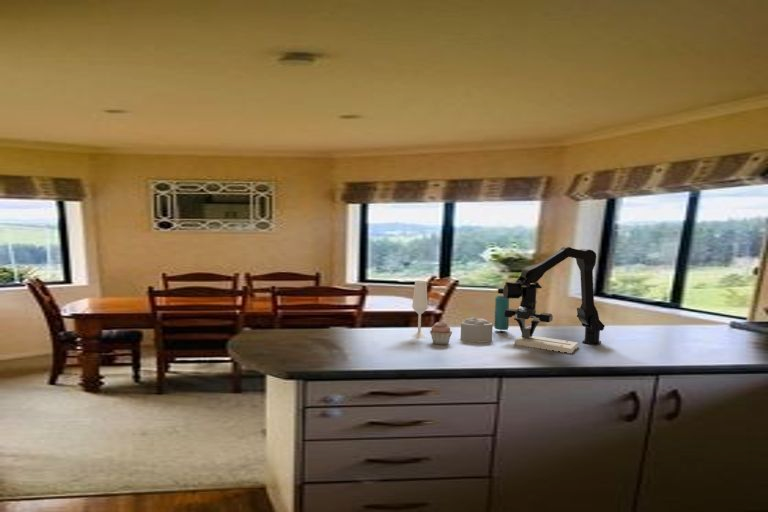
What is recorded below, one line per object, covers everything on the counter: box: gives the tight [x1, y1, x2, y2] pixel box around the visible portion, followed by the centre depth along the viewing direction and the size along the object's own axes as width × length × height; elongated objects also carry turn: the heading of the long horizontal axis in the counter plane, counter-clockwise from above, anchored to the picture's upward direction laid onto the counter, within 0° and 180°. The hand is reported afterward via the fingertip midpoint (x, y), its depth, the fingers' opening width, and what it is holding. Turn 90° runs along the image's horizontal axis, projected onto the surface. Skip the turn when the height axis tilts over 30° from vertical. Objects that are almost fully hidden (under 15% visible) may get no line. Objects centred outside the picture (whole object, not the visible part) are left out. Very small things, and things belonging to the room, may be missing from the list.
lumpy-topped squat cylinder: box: [459, 317, 494, 343], centre depth 202 cm, size 10×13×9 cm
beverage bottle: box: [493, 287, 510, 331], centre depth 216 cm, size 6×7×20 cm
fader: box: [521, 325, 534, 338], centre depth 197 cm, size 5×3×4 cm, turn 146°
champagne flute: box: [411, 280, 429, 339], centre depth 204 cm, size 7×7×24 cm
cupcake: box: [429, 319, 453, 346], centre depth 193 cm, size 9×9×10 cm
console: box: [514, 335, 579, 354], centre depth 193 cm, size 12×22×2 cm, turn 56°
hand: (527, 335), depth 197 cm, fingers closed on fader, 3 cm apart
